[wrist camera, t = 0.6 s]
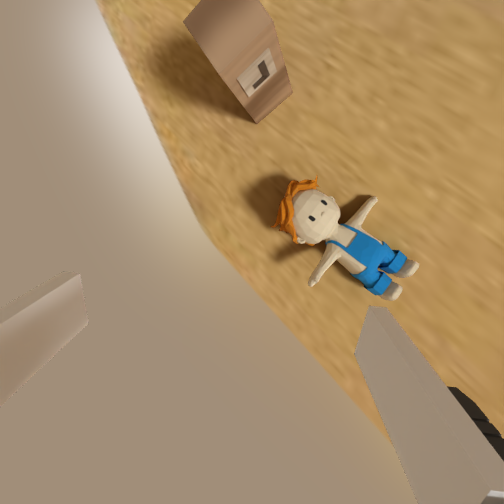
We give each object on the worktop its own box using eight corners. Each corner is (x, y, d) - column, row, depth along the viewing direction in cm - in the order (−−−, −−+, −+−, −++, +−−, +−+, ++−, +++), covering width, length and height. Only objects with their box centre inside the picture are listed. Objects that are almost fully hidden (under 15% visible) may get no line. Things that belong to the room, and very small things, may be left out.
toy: (379, 335, 23) (247, 233, 23) (351, 322, 29) (246, 242, 29) (450, 231, 24) (322, 136, 24) (408, 240, 30) (307, 164, 30)
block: (294, 94, 28) (274, 22, 18) (258, 125, 30) (220, 77, 19) (267, 56, 28) (232, -37, 18) (233, 89, 30) (182, 21, 19)
